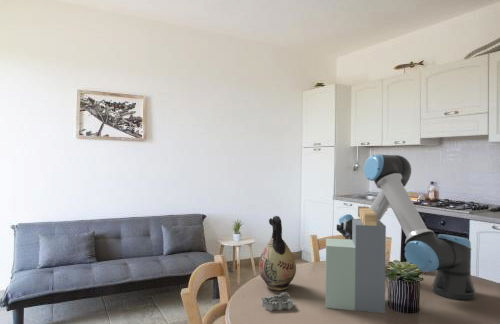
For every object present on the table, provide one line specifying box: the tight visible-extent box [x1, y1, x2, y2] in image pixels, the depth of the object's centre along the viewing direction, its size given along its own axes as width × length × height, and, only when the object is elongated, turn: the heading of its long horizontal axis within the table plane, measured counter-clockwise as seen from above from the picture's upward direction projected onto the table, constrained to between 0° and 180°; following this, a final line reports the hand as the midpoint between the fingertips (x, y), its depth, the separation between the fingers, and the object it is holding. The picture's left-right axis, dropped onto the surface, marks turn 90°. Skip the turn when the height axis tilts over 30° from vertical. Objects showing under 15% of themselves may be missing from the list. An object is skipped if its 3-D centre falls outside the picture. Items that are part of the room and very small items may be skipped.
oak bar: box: [357, 205, 377, 226], centre depth 136 cm, size 24×4×4 cm, turn 168°
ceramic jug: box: [258, 215, 297, 291], centre depth 147 cm, size 17×15×30 cm
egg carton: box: [260, 291, 294, 312], centre depth 127 cm, size 11×8×4 cm
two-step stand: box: [324, 218, 387, 314], centre depth 132 cm, size 14×20×30 cm
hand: (361, 222), depth 153 cm, fingers open, 13 cm apart
